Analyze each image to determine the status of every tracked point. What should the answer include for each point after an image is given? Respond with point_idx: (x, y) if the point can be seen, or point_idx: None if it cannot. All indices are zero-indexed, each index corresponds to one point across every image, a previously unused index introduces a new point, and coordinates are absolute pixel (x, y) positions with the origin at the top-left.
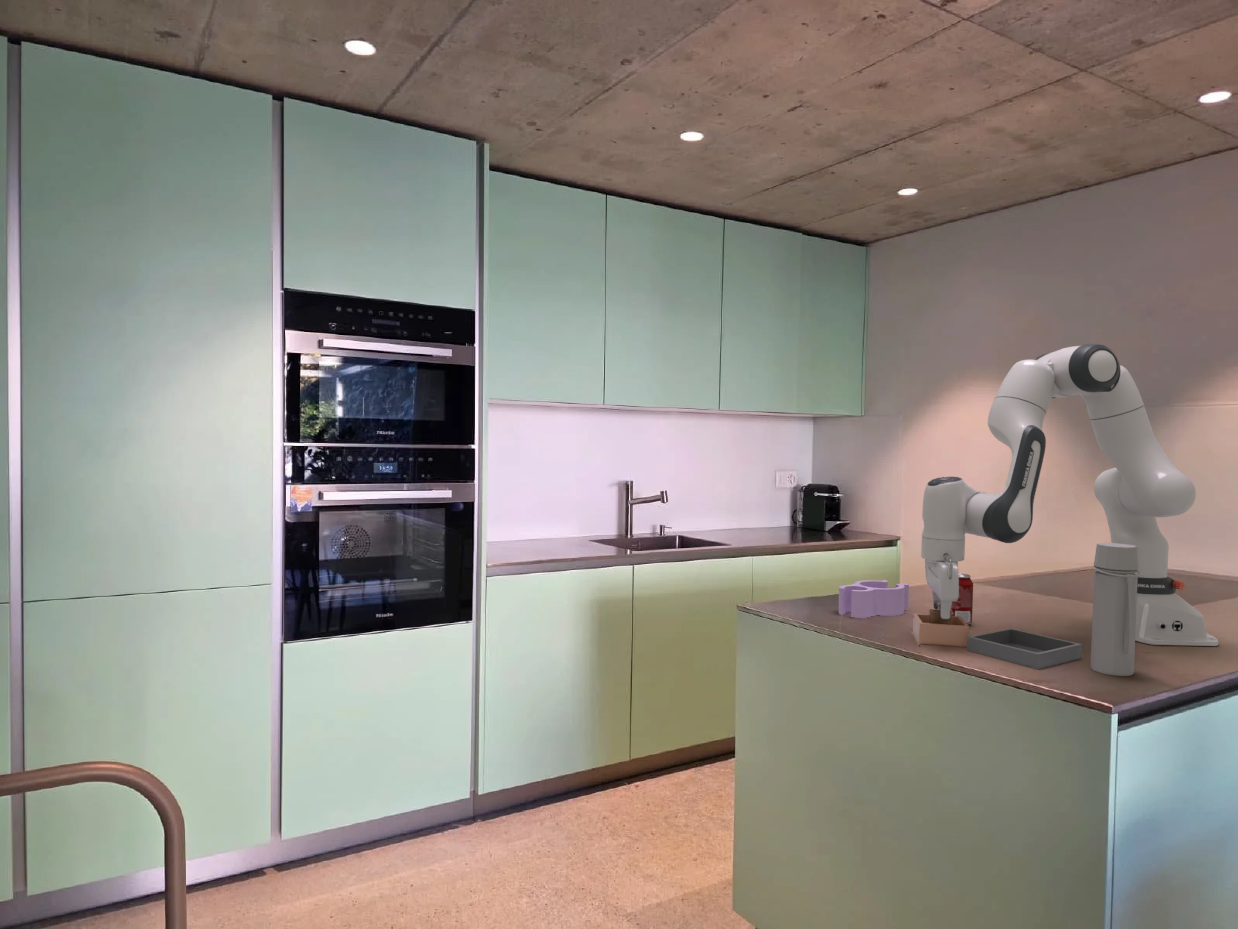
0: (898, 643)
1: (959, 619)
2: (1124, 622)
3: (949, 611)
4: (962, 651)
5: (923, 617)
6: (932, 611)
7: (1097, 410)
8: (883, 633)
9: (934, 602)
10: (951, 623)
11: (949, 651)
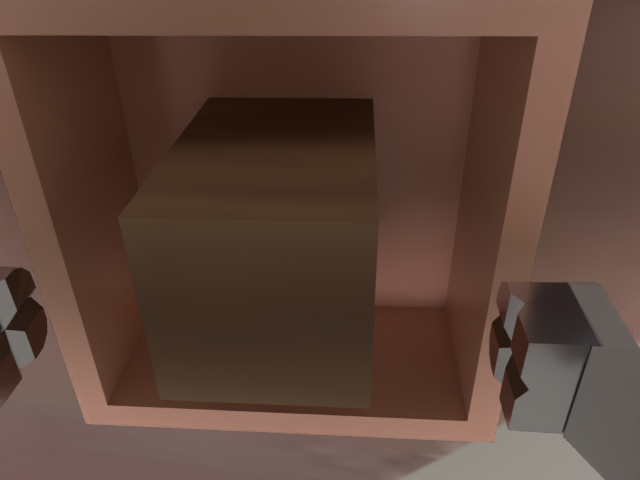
0: None
1: (134, 34)
2: None
3: (631, 345)
4: None
5: (106, 345)
6: (281, 395)
7: None
8: (175, 430)
9: (8, 395)
10: (373, 167)
11: (578, 134)
